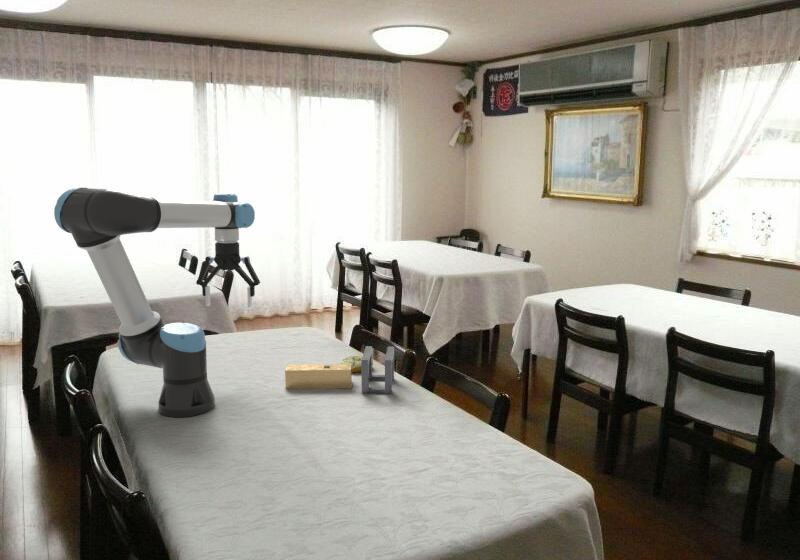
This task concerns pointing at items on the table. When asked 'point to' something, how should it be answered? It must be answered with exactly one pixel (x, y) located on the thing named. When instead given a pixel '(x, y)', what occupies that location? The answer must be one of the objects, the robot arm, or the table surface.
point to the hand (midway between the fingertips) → (229, 306)
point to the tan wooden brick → (318, 376)
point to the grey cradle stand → (367, 375)
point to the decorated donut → (354, 362)
